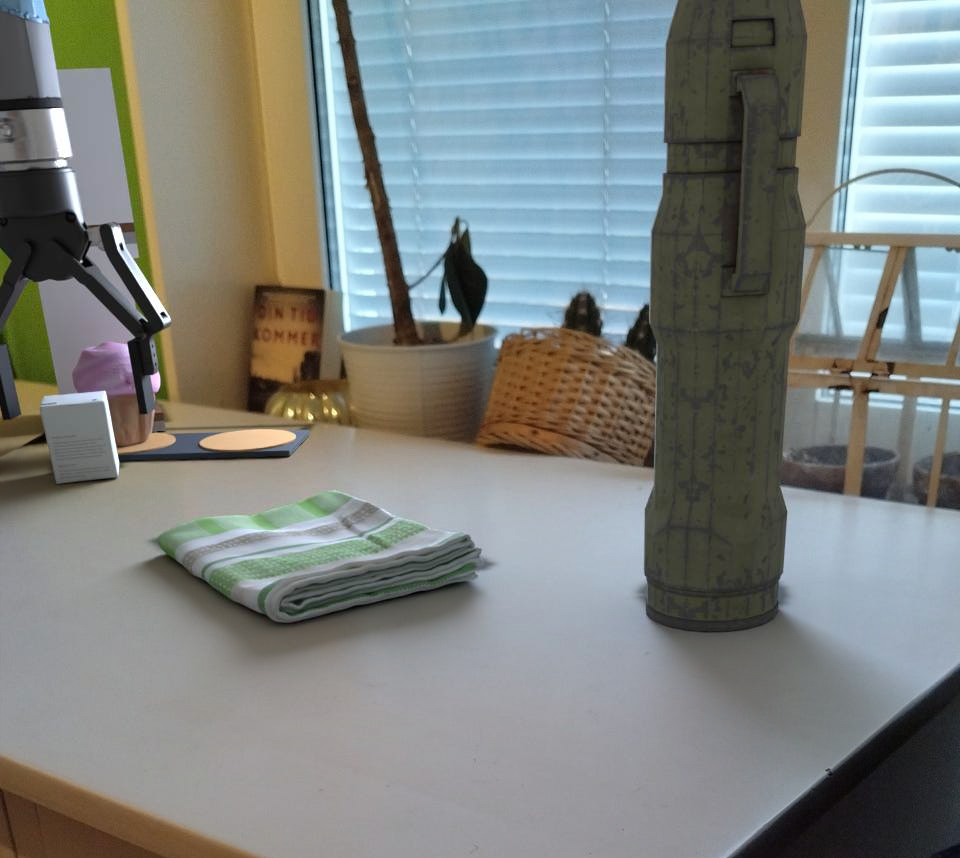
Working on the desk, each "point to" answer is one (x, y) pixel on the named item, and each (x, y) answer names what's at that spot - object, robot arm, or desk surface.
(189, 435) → the placemat
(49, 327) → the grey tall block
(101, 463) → the product carton
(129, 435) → the cupcake
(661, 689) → the desk surface
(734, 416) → the thermos
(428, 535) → the dish towel
